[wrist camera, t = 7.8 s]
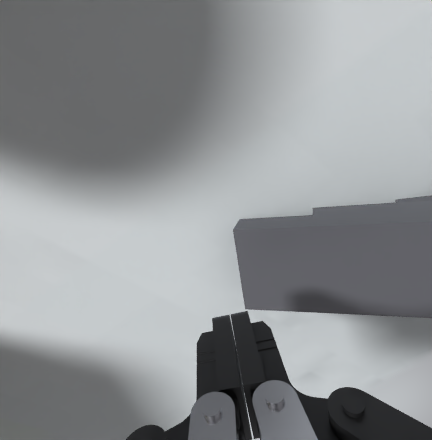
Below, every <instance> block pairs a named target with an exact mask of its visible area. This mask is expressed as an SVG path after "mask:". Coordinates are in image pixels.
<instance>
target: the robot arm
mask: <svg viewBox="0 0 432 440" xmlns="http://www.w3.org/2000/svg"><path fill="white" fill-rule="evenodd" d="M231 319H232V325H233V330H232V325H231V321H230V316H229V315H226V316H221V317H216V318H212V322H213V331H211V332H206V333H202V334H201V336H200V338H199V340H198V342H197V400H196V402H195V404H194V406H193V407H192V410H191V414H190V415H189V416H188V417H187V418H186V419H185V420H184V421H183V422H181V423H180V424H178V425H176V426H175V427H173V428H171V429H169V430H167V431H165V432H164V430H163V429H162V428H161V427H159V426H156V425H146V426H143V427H141V428H139V429H137V430H136V431H134V432H133V433H132V434H131V435H130V436H129V437H128V438H127V439H126V440H251V439H252V436H251V430H250V424H249V419H248V413H247V408H248V412H249V417H250V422H251V427H252V431H253V436H254V439H256V438H260V440H432V428H430V427H428V426H426V425H424V424H423V423H421V422H419V421H417V420H415V419H413V418H412V417H410V416H408V415H406V414H404V413H402V412H401V411H399V410H397V409H395V408H393V407H391V406H389V405H388V404H386V403H384V402H382V401H380V400H379V399H377V398H375V397H373V396H371V395H369V394H368V393H366V392H364V391H362V390H359V389H356V388H351V387H344V388H339V389H337V390H335V391H334V392H332V393H331V395H330V396H329V398H328V399H325V398H316V397H310V396H307V395H304V394H302V393H300V392H299V391H297V390H296V389H295V388H294V387H293V386H292V385H291V383H290V381H289V379H288V376H287V373H286V370H285V368H284V365H283V362H282V359H281V356H280V354H279V351H278V348H277V345H276V342H275V340H274V337H273V334H272V331H271V328H270V327H268V326H267V325H266V324H265V323H264V322H263V321H261V322H256V323H251V322H250V319H249V315H248V311H245V312H240V313H235V314H231ZM233 331H234V335H233ZM234 337H235V340H234ZM235 343H236V345H235ZM236 349H237V350H236ZM237 354H238V355H237ZM242 383H243V384H242ZM244 393H245V395H244ZM245 398H246V401H245ZM246 403H247V407H246Z"/></svg>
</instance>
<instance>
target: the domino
mask: <svg viewBox="0 0 432 440" xmlns="http://www.w3.org/2000/svg"><path fill="white" fill-rule="evenodd" d="M233 232H234V239H235V245H236V252H237V258H238V265H239V271H240V278H241V284H242V291H243V297H244V303H245V309H253V310H275V311H296V312H317V313H338V314H360V315H381V316H402V317H423V318H432V209H422V210H403V211H385V212H366V213H348V214H329V215H311V216H292V217H274V218H255V219H240V220H239V221H238V223H237V224H236V226H235V228H234V229H233Z"/></svg>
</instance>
